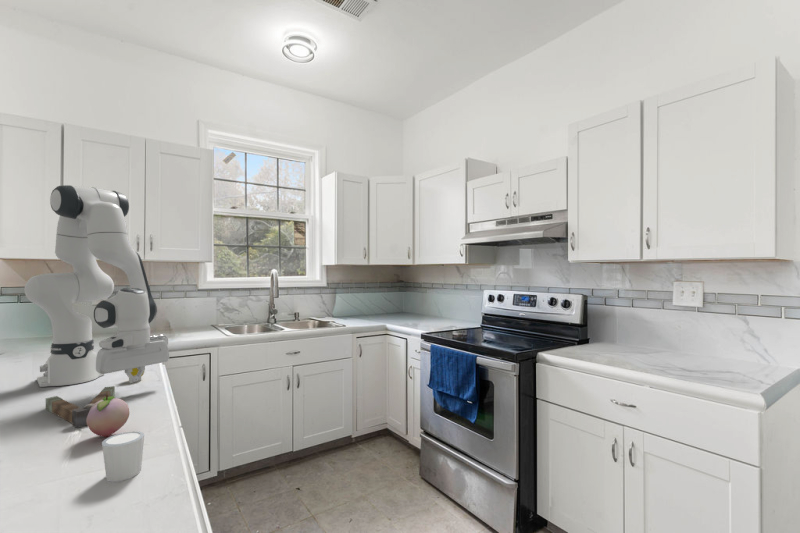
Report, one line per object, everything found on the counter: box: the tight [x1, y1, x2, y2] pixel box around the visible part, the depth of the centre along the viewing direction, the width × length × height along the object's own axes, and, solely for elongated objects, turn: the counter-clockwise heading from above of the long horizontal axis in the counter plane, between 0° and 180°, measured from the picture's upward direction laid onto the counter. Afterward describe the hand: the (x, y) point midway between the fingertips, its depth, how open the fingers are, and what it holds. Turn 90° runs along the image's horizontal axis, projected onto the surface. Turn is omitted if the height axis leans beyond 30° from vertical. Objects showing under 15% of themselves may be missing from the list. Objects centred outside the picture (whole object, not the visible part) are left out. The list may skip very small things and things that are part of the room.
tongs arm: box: [89, 385, 116, 404], centre depth 117 cm, size 20×2×3 cm, turn 24°
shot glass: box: [101, 431, 145, 483], centre depth 78 cm, size 7×7×7 cm
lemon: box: [130, 368, 146, 378], centre depth 145 cm, size 6×6×8 cm
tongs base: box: [45, 395, 94, 429], centre depth 111 cm, size 25×6×5 cm, turn 56°
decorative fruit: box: [86, 395, 130, 438], centre depth 96 cm, size 9×8×10 cm
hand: (135, 381), depth 129 cm, fingers closed
